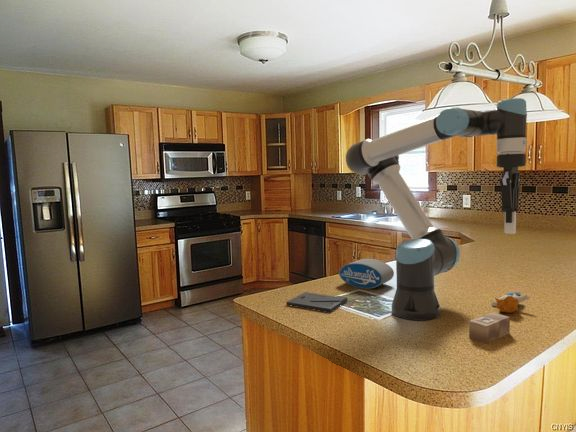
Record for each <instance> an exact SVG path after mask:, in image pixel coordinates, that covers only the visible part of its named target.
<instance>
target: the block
mask: <svg viewBox="0 0 576 432" xmlns="http://www.w3.org/2000/svg"><path fill="white" fill-rule="evenodd" d="M510 318H511V317H510V316H508V315H504V314H501V313H497V312H493V311H492V312H489V313H487V314H484V315H482V316H479V317H476V318H473V319H470V320H469V321H468V322H469V323H468V325H469V326H468V327H469V328H468V330H469V331H468V333H469V334H468V338H469V339H472V340H475V341H477V342H481V343H484V344H489V343H491V342H493V341H496V340H498V339H500V338H503V337H505V336H507V335H509V334H510V327H511V319H510Z"/></svg>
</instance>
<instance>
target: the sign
mask: <svg viewBox="0 0 576 432" xmlns="http://www.w3.org/2000/svg"><path fill="white" fill-rule="evenodd" d="M338 275H339V277H340V279H341V280H342V281H343V282H344V283H346V284H348V285H350V286H352V287H353V288H354V287H355V288H358V287H359V288H360V289H364V288H365V289H375V288H378V287H380V286H382V285H383V284H385V283H387V282H389V281H391V280H392V279H393V278H394V276H395V270H394V269H393V268H392V267H391V265H389V264H388V263H386V262H385V261H381V260H379V259H375V258H360V259H358V260H355V261H353V262H350V263H347V264H345V265H343V266H342V267H340V268H339V272H338ZM359 288H358V289H359ZM365 289H364V290H365Z"/></svg>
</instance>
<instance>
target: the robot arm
mask: <svg viewBox="0 0 576 432" xmlns="http://www.w3.org/2000/svg"><path fill="white" fill-rule="evenodd" d="M527 116H528V112H527V100H525V99H524V98H521V97H520V98H519V97H516V98H515V97H513V98H507V99H501V100H499V101H498V102H497V104H496V108H493V109H491V108H490V109H485V110H475V109H474V110H472V109H465V108H461V107H447V108H445V109H444V108H443V110H442V111H440V112H439V114H438V115H436V116H435V115H434V116H433V117H430V118H427V119H424V120H423V121H420V122H417V123H414V124H411V125H409V126H407V127H404V128H402V129H401V128H400V129H398V130H396V131H394V132H391V133H388V134H386V135H385V134H384V135H383V136H381V137H378V138H375V139H371V138H367V139H364V140H362V141H359V142H356V143H354V144H352V145H351V146H350V147H349V148H348V150H347V151H346V153H345V163H346V166H347V168H348V169H349V170H350V171H351V172H353V174H356V175H367V176H368V177H369V179H370V180H371V182H372V183H373V184H375V185H378V186H379V187H380V189H381V190H382V192H383V194H384V195H385V197H386V199H387V201H388V203H389V204H390V205H391V207H392V209H393V210H394V212H395V214H396V215H397V217H398V219H399V220H400V222H401V224H402V225H403V227H404V229H405V230H406V232H407V234H408V236H410V238H411V239H407V240H403V241H401V242H399V243H398V244H397V246H396V252H395V260H396V261H395V262H396V263H395V264H396V265H395V266H396V268H395V269H396V270H395V271H396V272H395V273H396V290H395V294H394V297H393V299H392V302H391V312H392V314H393V315H394V316H396V317H398V318H400V319H405V320H412V321H428V320H433V319H436V318H438V317H440V315H441V306H440V303H439V300H438V297H437V295H436V291H435V276H438V275H440V274H443V273H447V272H448V271H450V270H452V269H454V268H455V267H456V266H457V264H458V263H459V261H460V257H461V251H460V247H459V245H458V243H457V242H456V241H455V240H454V239H452V238H450V237H449V236H446V235H445V234H444V232H443V231H442V229H441V228H439V227H436V226H434V225H433V223H432V221H431V220H430V219H429V217H428V215H427V214H426V213H425V210H424V209H423V208H422V206H421V205H420V203H419V201H418V200H417V198H416V197H415V195H414V194H413V192H412V191H411V189H410V187H409V186H408V185H407V183H406V181H405V179H404V178H403V176H402V175H401V173H400V170H401V165H400V164H399V163H400V161H399V160H400V155H404V154H405V153H409V152H413V151H415V150H417V149H420V148H423V147H427V146H429V145H433V144H435V143H439V142H441V141H444V140H448V139H452V138H455V137H460V138H473V137H482V136H491V135H493V136H494V135H496V153H497V154H498V155H497V156H496V167H497V168H503V169H502V173H501V177H500V178H499V185H500V194H501V195H500V197H501V198H500V199H501V210H500V211H501V212H502V213H503V212H504V225H503V226H504V228H503V229H504V230H503V231H504V234H507V235H508V234H509V235H515V234H516V233H517V231H516V230H517V212H519V211H520V208H519V207H520V206H519V201H520V191H521V182H522V177H521V173H520V172H519V168H521V167H525V166H526V165H527V160H526V159H527V154H526V153H524V152H526V151H527V150H526V149H527V145H528V144H529V141H528V140H527V123H528V120H527V118H528V117H527Z"/></svg>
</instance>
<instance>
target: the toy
mask: <svg viewBox="0 0 576 432" xmlns="http://www.w3.org/2000/svg"><path fill="white" fill-rule="evenodd" d="M494 299H495V301H492V300H491V307H497V309H498V311H500V312H501V313H502V312H503V313H505V314H508V313H510V314H511V313H515V311H517V312H520V311H519V306H518V305H519V304H520V303H521V302H525V301H527V300H530V296H529V295H528V294H527V293H525V294H524V295H522V294H521V292H520V291H515V292H509V293H505V294H503V295H501V296H500V297H499V298H496V297H494Z"/></svg>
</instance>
